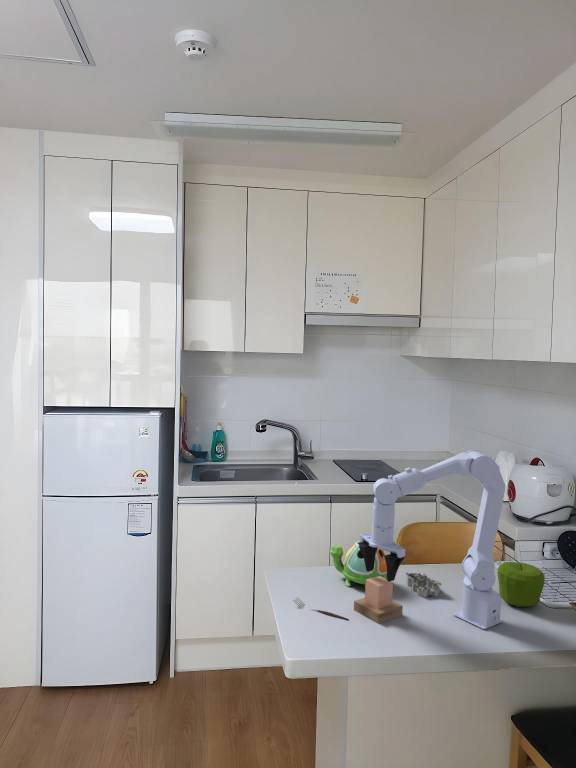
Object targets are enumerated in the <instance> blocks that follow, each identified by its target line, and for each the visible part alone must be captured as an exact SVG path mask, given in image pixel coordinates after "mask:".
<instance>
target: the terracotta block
mask: <svg viewBox="0 0 576 768" xmlns="http://www.w3.org/2000/svg"><path fill="white" fill-rule="evenodd" d="M393 587H394V582H393V581H390V582H389V581H387V580H386V579H385V578H383V577H381V576H378V577H374V578H370V579H366V588H365V587H364V589H365V590H364V591H365V593H364V598H365V602H366V603H368V604H370V605H372V606H373V607H375V608H377V609H380V608H383V607H386V606H390V605H392V601H393Z"/></svg>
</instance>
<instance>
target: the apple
mask: <svg viewBox="0 0 576 768" xmlns="http://www.w3.org/2000/svg"><path fill="white" fill-rule="evenodd" d="M497 579H498V586H499V587H498V589H499V592H498V593H499V594H500V596H501V600H503V601H505V603H507V604H508V605H511V606H514V607H520V608H529V607H532V606H535V605H538V604H540V601H541V600H540V599H541V597H542V592H543V589H544V585H545V574H544V572H543V571H542V570H540V568H538V567H537V566H535V565H532V564H529V563H525V562H519V561H518V562H516V561H504V562H503V563H501V564H500V565H499V566H498V568H497Z"/></svg>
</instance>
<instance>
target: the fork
mask: <svg viewBox="0 0 576 768" xmlns="http://www.w3.org/2000/svg"><path fill="white" fill-rule="evenodd" d="M292 601H293V602H294V603H295V604H296V605H297V607H299V608H300V609H301V610H303V609H304V608H305V607H304V606H305V605H306V604H305V603H304V602H303V601H302V600H301V599H300V598H299V597H298V596H297V597H295V599H293V600H292ZM302 608H303V609H302ZM309 611H314V612H317V613H320V614H323V615H326V616H329V617H332V618H335V619H336V618H338V619H341V620H346V621H350V619H349V618H347V617H344V616H341V615H340V614H335V613H334V612H333V613H332V612H329V611H325V610H320V609H315V608H312V609H311V608H310V609H309Z"/></svg>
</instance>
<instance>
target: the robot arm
mask: <svg viewBox="0 0 576 768" xmlns="http://www.w3.org/2000/svg"><path fill="white" fill-rule="evenodd" d="M500 469H501V468H500V466H499V464H498V463H497V462H496V461H495V460H494V459H493V458H492V457H490V456H488V455H486V454H484V453H483V452H482V451H480V450H477V449H470V450H468V451H466V452H465V451H464V452H460V453H458V454H455V455H454V456H452V457H449V458H447V459H444V460H442V461H440V462H437V463H435V464H433V465H431V466H429V467H426V468H423V469H421V470H420V469H417V468H415V467H413V468H410V467H406V468H404V470H405V471H402V472H400V473H397V474H395V475H392V474H390V475H388V476H387V478H382V477H381V478H379V479H377V480H376V481H375V482H374V484H373V485H372V488H371V491H372V494H373V495H374V498H373V507H372V517H371V521H372V522H371V534H370V533H366V532H364V533H361V534H359V541H361V542H363V543H362V544H360V545H359V548H360V550H361V552H362V555H363V558H364V562H365V567H366V571H367V572H369V571H372V570H373V569H374V563H375V555H376V551H377V548H380V549H382V550H383V551H384V552H387V553H389V554H385V556H384V557H385V560H386V566H387V581H389V582H393V581H395V580H396V576H397V573H398V570H399V567H401V564H402V563H403V560H405V557H406V549H405V548H404V547H402V546H400V545H399V544H398V543H396V542H395V541H394V532H395V515H396V514H395V513H396V508H395V505H396V501H397V500H398V498H402V497H404V496H407V495H410V494H412V493H415V492H418V491H421V490H423V489H424V487H425V485H426V483H429V482H432V481H435V480H438V479H440V478H441V479H442V478H444V477H447V476H450V475H453V474H459V475H462V476H466V477H470V475H471V476H473V477H474V478H475V479H476V480H477V482H478V483H479V484H480V485H481V487H482V488H483V491H482V494H481V495H482V496H481V501H480V505H479V510H478V514H477V515H478V516H477V521H476V526H475V531H474V536H473V540H472V545H471V547H469V548H468V551H467V555H466V556H465V557H464V559H463V560H462V562H461V569H462V572H463V574H464V578H463V580H462V594H461V606H460V607H461V609H460V610H459V611H457V612H454V613H453V616H455V617H457V618H459V619H461V620H462V621H465V622H468V623H469V624H472V625H474V626H476V627H478V628H480V629H482V630H487V629H489V628H491V627H493V626H496V625H497V624H500V623H502V622H503V621H502V619H501V612H502V611H501V610H502V598H501V596H500V593H499V592H497V591H495V590H494V588H493V586H494V585H495V583H496V579H497V578H496V574H495V565H496V564H495V559H494V553H493V552H494V548H495V547H494V546H495V543H496V537H497V533H498V527H499V523H500V518H501V513H502V512H501V511H502V508H503V503H504V497H505V493H506V484H505V481H504V479H503V475H502V472H501V470H500Z"/></svg>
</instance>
